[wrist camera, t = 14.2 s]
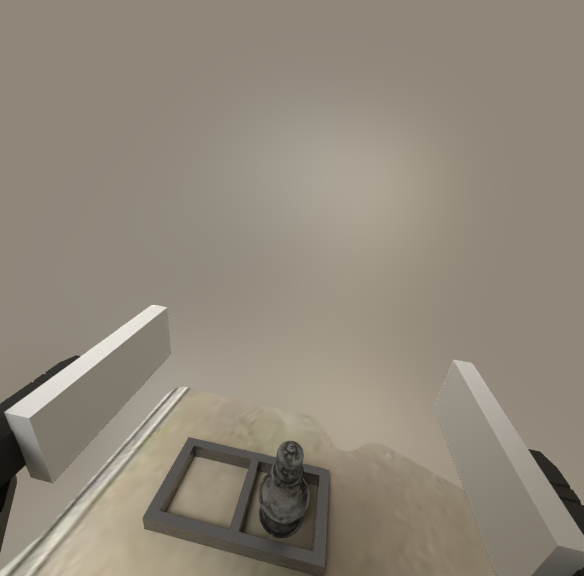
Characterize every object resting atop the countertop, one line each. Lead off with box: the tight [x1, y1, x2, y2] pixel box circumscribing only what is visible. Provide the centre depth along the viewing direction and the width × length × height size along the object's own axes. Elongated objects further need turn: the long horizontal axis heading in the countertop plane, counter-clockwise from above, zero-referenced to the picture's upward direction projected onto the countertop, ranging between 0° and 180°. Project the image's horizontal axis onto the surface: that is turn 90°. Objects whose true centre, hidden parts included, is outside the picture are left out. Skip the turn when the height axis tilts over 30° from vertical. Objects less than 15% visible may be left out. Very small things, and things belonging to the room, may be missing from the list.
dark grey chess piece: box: [259, 441, 310, 538], centre depth 32 cm, size 6×6×12 cm
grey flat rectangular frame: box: [143, 437, 330, 576], centre depth 34 cm, size 20×10×2 cm, turn 81°
